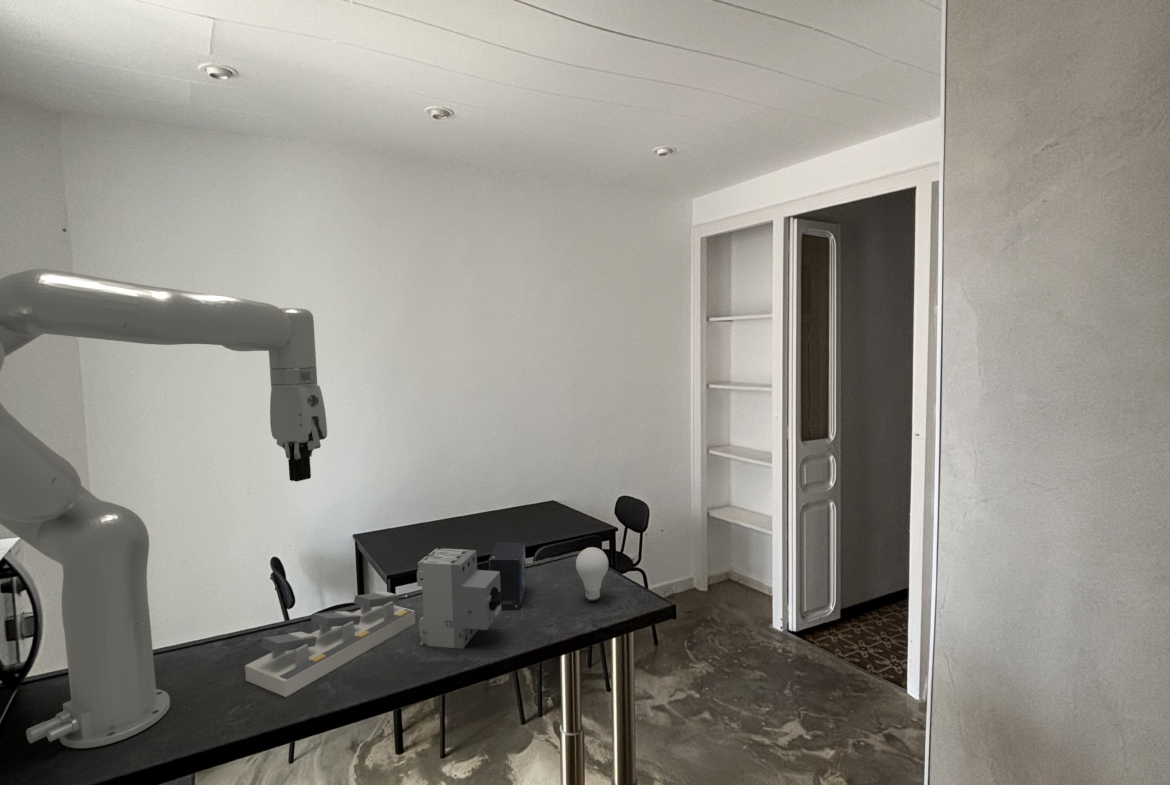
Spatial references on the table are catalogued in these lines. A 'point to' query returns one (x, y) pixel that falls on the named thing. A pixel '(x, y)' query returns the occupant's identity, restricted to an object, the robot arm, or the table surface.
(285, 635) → the rocker
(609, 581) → the table surface
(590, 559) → the light bulb
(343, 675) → the table surface
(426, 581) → the circuit breaker
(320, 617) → the rocker
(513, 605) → the small box
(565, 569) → the table surface
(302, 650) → the switch unit
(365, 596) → the rocker
